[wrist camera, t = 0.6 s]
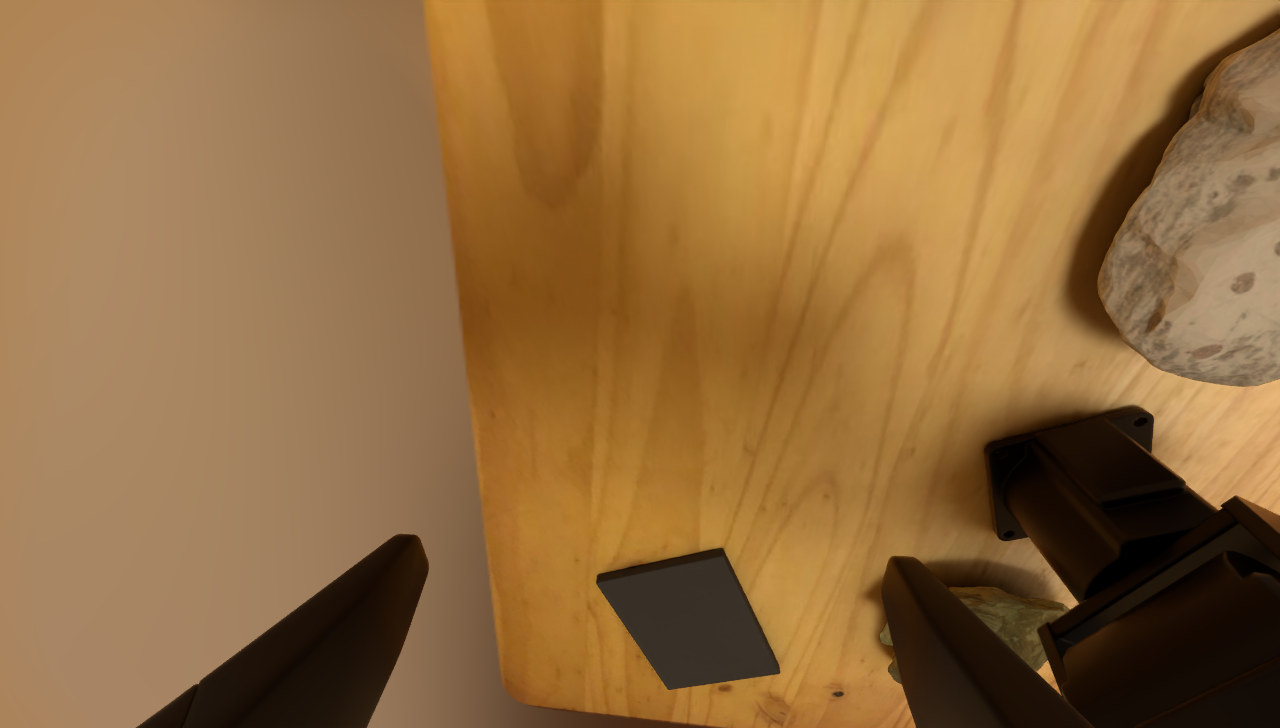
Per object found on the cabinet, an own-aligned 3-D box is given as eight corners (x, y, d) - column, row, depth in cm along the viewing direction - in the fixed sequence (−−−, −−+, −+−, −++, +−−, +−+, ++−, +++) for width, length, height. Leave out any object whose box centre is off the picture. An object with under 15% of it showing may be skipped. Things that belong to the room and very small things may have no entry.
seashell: (994, 716, 31) (971, 830, 24) (883, 626, 35) (833, 698, 28) (1098, 597, 28) (1111, 684, 20) (962, 513, 32) (931, 559, 25)
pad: (779, 664, 33) (780, 674, 33) (668, 681, 35) (668, 690, 35) (722, 547, 28) (723, 556, 28) (597, 574, 30) (595, 583, 30)
